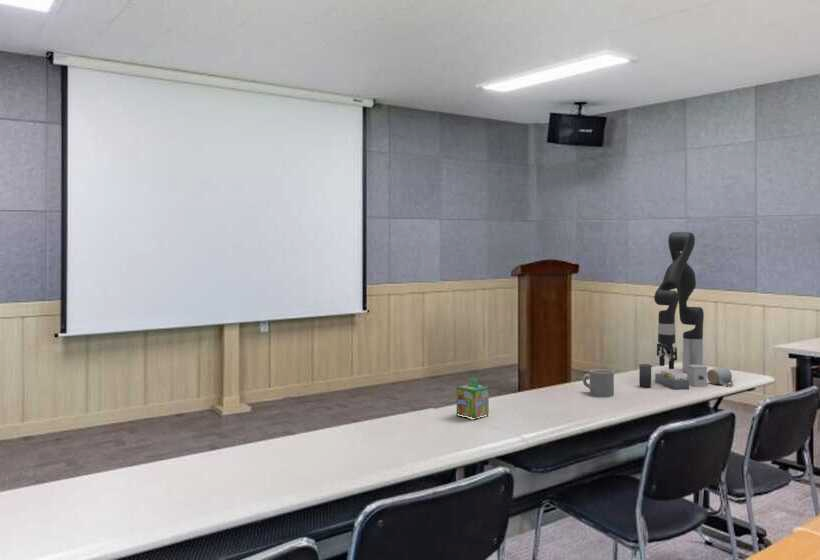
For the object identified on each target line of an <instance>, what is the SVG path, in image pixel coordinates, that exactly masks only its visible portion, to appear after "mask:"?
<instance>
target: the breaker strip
mask: <svg viewBox="0 0 820 560" xmlns="http://www.w3.org/2000/svg"><path fill="white" fill-rule="evenodd" d="M654 374H655V377H654V382H655V383H657V384H659V385H661V386H664V387H666V388H668V389H672V390H673V389H674V390H676V391H677V390H689V389H690V388H689V387H690V385H689V380H687V378H685V377H684V378H683V377H681V376H680V375H677V374H674V373H671V372H668V371H666V370H660V373H654Z"/></svg>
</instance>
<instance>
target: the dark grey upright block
mask: <svg viewBox="0 0 820 560" xmlns="http://www.w3.org/2000/svg"><path fill="white" fill-rule="evenodd" d="M638 366H639V377H638V378H639V385H638V386H640V387H639V388H642V387H643V389H651V388H652V368H653V364H648V363H647V364H646V363H641V364H638Z"/></svg>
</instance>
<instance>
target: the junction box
mask: <svg viewBox="0 0 820 560" xmlns="http://www.w3.org/2000/svg"><path fill="white" fill-rule="evenodd" d="M686 367H687V372H686V379H687V380H689V384H690V385H689V386H693V387H705V386H704V385H707V386H708V384H707V382H708V378H707V373H708V371H707V369H708V366H706V365H704V364H703V365H700V364H698V365H686Z"/></svg>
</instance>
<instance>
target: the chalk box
mask: <svg viewBox="0 0 820 560" xmlns="http://www.w3.org/2000/svg"><path fill="white" fill-rule="evenodd" d="M472 381H473V382H474V383H475V384H474V383H472ZM489 389H490V387H488V386H486V385H481V384H479V378H477V377H472V376H471V377H468V383H467V384H465V385H464V384H463V385H460V386H459V385H458V386H457V387H456V415H457V414H459V415H463V416H468V417H472V418H477V417H480V416H484V415H488V414H489V409H490V408H489V407H490V406H489V402H490V401H489V399H490V398H489V397H490V394H489V393H490V392H489V391H490V390H489Z"/></svg>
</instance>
